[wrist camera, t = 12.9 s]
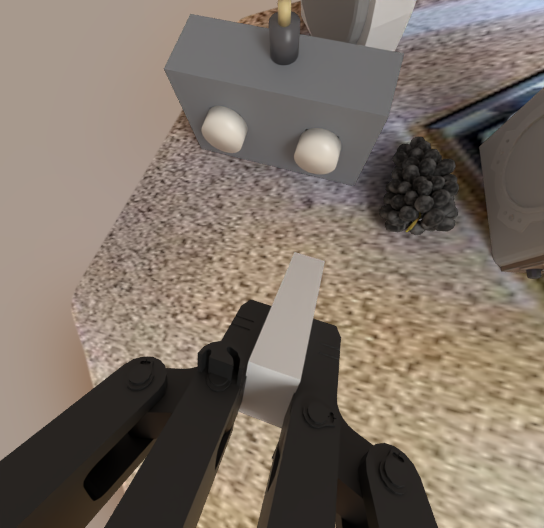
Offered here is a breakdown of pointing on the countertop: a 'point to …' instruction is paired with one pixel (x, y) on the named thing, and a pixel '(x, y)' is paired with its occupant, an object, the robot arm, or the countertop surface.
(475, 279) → the countertop surface
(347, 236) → the countertop surface
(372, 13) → the grey rounded slab
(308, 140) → the knob
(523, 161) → the portable television
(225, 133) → the knob
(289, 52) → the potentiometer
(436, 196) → the fruit
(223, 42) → the block
